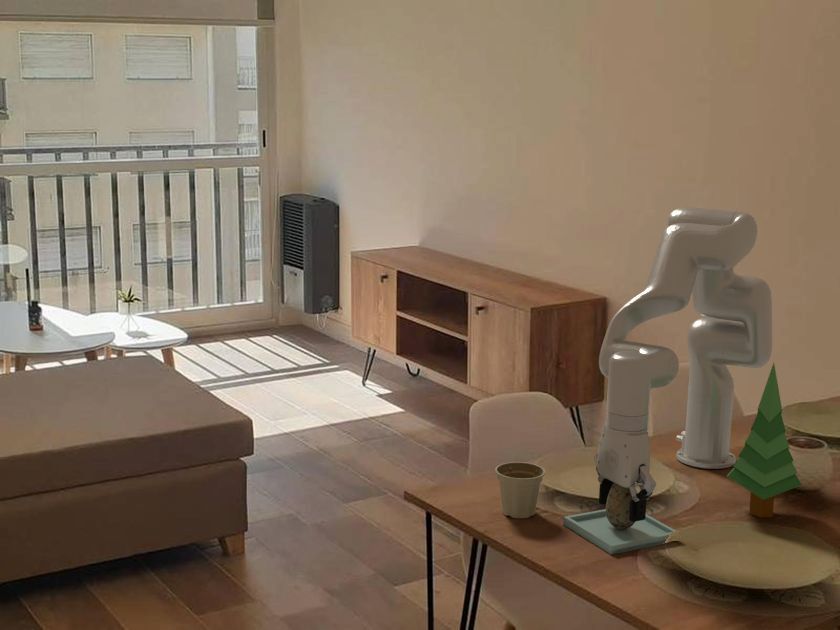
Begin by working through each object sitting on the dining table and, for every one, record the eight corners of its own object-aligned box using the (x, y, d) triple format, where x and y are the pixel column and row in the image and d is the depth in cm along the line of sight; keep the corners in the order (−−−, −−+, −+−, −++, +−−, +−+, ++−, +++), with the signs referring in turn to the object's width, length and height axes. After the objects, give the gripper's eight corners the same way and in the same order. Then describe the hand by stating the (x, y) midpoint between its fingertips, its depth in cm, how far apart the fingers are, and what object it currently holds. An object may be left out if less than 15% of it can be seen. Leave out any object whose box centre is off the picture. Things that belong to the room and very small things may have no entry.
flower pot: (510, 525, 218) (512, 481, 217) (484, 508, 227) (486, 465, 225) (552, 517, 223) (554, 474, 221) (526, 501, 231) (527, 459, 229)
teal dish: (563, 524, 219) (563, 516, 219) (628, 512, 226) (629, 504, 226) (611, 554, 206) (611, 546, 206) (679, 540, 213) (679, 532, 213)
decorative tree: (707, 503, 232) (718, 355, 226) (778, 497, 236) (791, 351, 230) (742, 529, 219) (755, 372, 213) (816, 523, 223) (831, 369, 217)
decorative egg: (599, 529, 215) (601, 477, 213) (613, 519, 220) (615, 468, 218) (629, 537, 212) (632, 484, 210) (642, 527, 217) (645, 475, 215)
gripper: (581, 410, 218) (577, 499, 221) (639, 436, 202) (634, 531, 206) (615, 405, 221) (610, 493, 225) (674, 431, 206) (668, 525, 209)
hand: (621, 511), depth 215 cm, fingers open, 8 cm apart
